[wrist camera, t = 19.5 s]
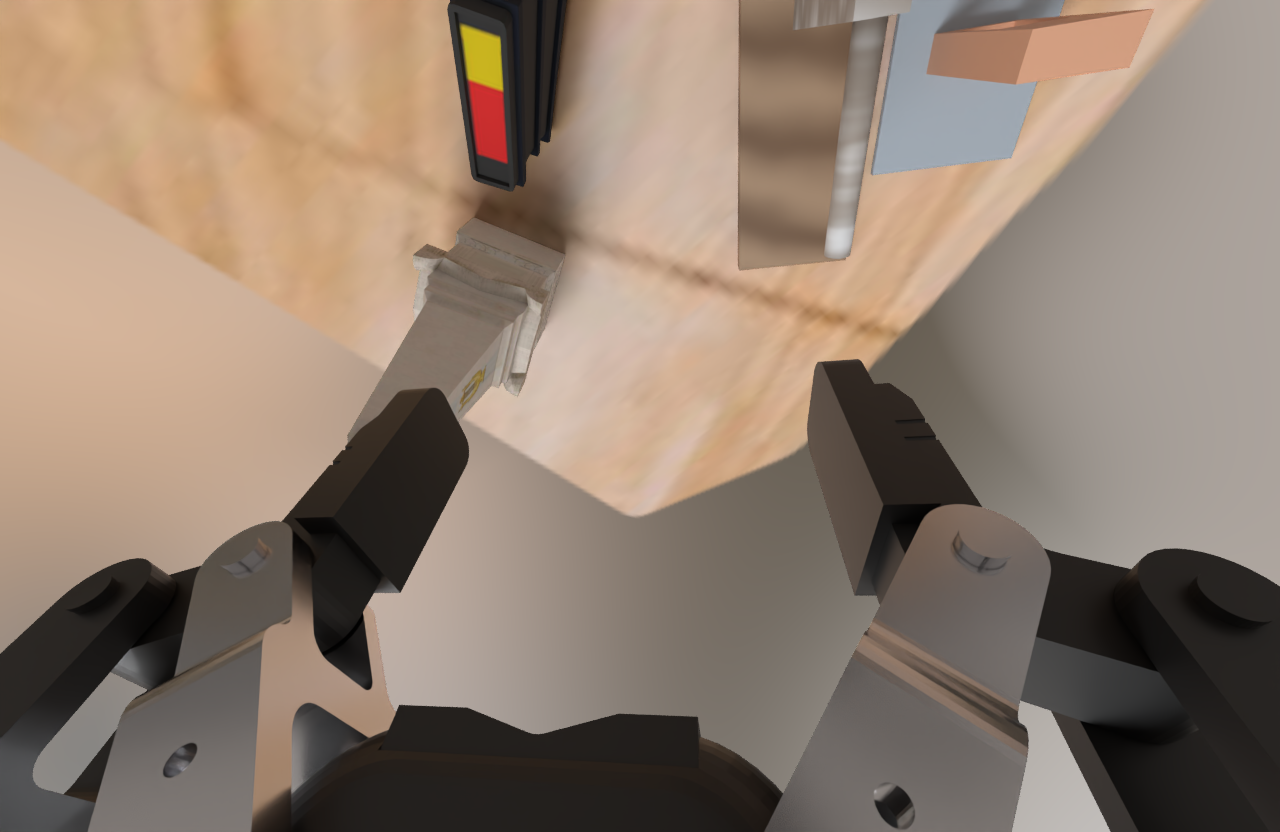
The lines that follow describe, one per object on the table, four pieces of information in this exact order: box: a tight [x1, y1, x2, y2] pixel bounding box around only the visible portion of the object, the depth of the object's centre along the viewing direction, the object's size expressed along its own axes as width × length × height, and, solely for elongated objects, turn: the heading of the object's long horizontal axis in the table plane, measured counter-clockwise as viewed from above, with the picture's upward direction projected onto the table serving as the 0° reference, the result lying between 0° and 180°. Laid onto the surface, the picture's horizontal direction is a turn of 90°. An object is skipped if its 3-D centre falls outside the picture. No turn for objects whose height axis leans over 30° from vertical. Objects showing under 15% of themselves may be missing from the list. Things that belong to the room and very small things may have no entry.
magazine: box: [447, 0, 567, 191], centre depth 32 cm, size 4×13×15 cm, turn 164°
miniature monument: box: [348, 218, 565, 443], centre depth 37 cm, size 10×10×30 cm
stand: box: [738, 0, 912, 270], centre depth 32 cm, size 22×10×17 cm, turn 8°
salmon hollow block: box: [926, 9, 1154, 85], centre depth 29 cm, size 2×6×12 cm, turn 98°
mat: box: [871, 0, 1065, 175], centre depth 34 cm, size 16×11×1 cm
